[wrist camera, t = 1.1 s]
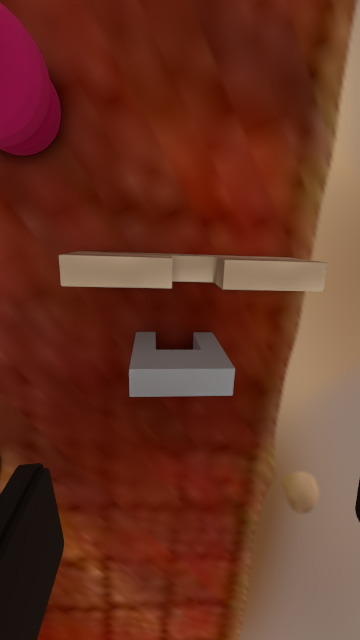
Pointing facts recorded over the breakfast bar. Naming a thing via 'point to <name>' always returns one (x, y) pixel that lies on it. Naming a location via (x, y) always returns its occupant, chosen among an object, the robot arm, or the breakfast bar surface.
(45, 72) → the pepper mill
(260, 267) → the beige notched bar
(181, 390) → the notched plate
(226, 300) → the breakfast bar surface
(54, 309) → the breakfast bar surface
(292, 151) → the breakfast bar surface
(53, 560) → the robot arm
